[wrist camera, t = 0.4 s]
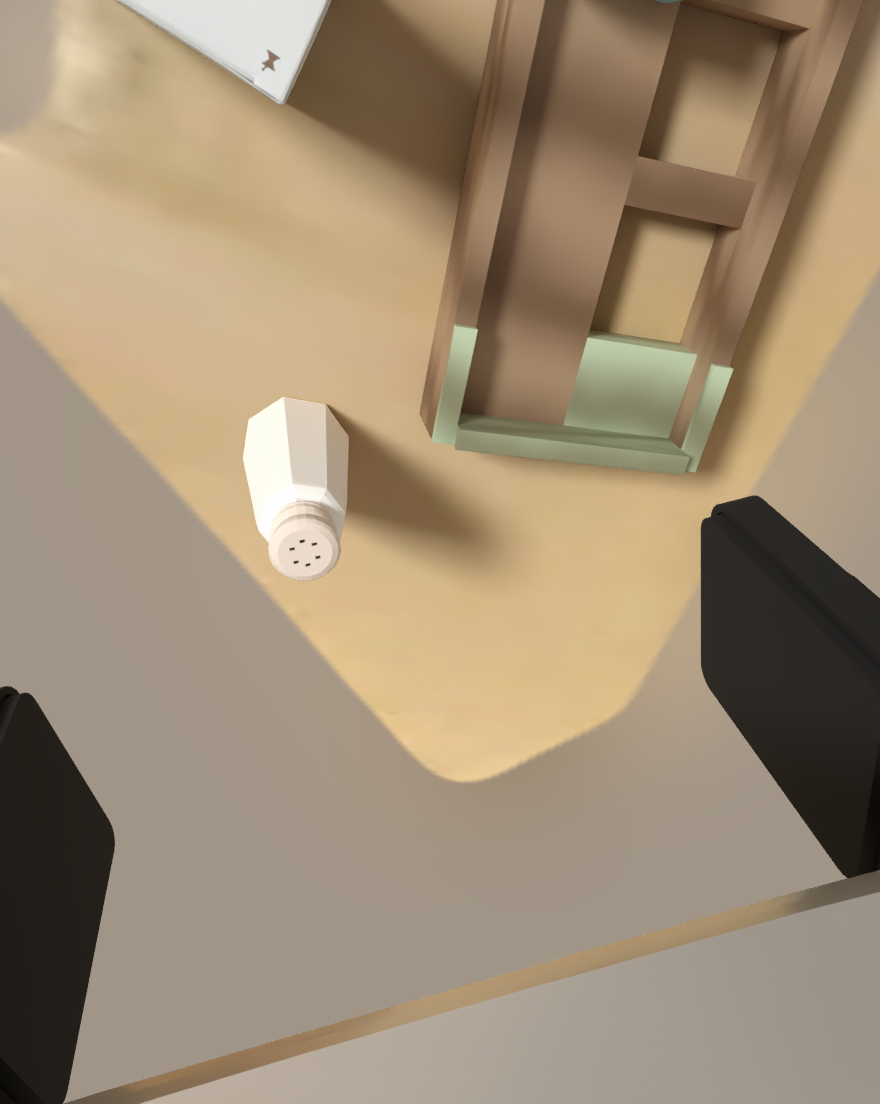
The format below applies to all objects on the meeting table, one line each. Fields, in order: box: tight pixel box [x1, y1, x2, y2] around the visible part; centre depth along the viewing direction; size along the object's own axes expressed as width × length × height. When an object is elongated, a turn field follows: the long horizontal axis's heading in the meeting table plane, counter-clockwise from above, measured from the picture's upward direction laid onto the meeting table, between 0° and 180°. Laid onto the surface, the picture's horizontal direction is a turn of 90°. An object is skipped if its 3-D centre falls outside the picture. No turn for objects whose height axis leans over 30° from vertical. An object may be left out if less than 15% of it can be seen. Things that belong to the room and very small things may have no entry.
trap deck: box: [420, 0, 863, 475], centre depth 34 cm, size 30×14×4 cm, turn 169°
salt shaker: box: [243, 397, 349, 581], centre depth 36 cm, size 5×5×11 cm
